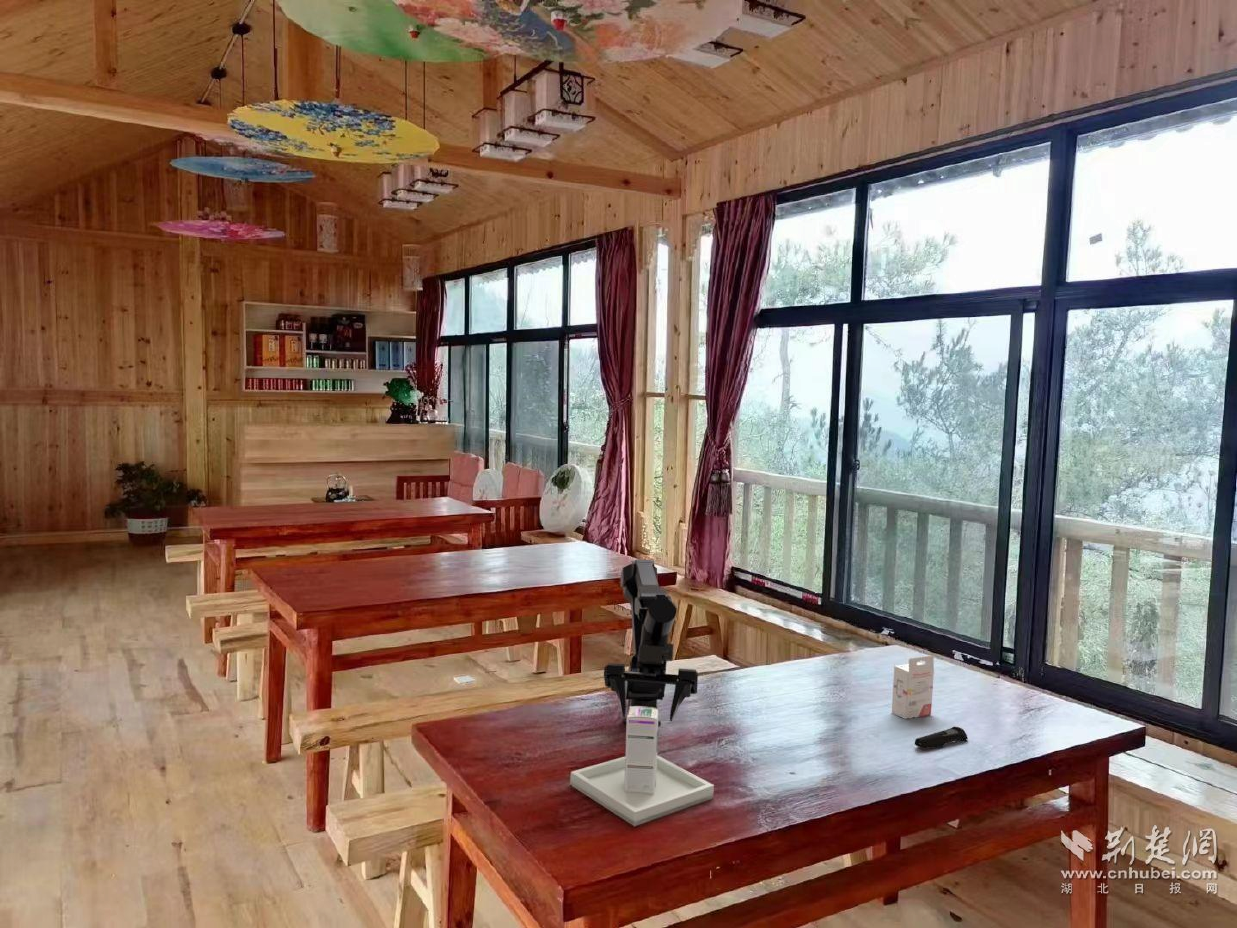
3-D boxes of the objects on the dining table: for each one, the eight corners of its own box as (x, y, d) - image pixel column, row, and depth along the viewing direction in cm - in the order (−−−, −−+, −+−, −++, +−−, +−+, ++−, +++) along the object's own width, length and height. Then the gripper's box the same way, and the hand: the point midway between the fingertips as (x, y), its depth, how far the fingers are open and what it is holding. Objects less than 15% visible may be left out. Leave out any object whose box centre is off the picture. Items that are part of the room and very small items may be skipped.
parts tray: (570, 784, 165) (570, 771, 165) (646, 761, 177) (647, 749, 177) (634, 826, 150) (635, 812, 150) (713, 798, 162) (713, 785, 162)
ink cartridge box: (915, 708, 216) (920, 649, 215) (931, 715, 211) (936, 655, 210) (890, 712, 212) (894, 653, 211) (905, 719, 207) (909, 659, 206)
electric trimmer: (909, 748, 191) (910, 734, 191) (954, 735, 199) (955, 722, 199) (923, 755, 188) (924, 741, 188) (969, 741, 196) (970, 728, 196)
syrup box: (655, 794, 161) (658, 718, 159) (622, 792, 161) (626, 715, 160) (656, 781, 166) (660, 707, 165) (625, 778, 167) (628, 704, 166)
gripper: (606, 623, 176) (597, 696, 166) (700, 630, 173) (695, 704, 163) (610, 650, 184) (601, 721, 174) (699, 657, 182) (695, 729, 172)
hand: (647, 718), depth 171 cm, fingers open, 9 cm apart
